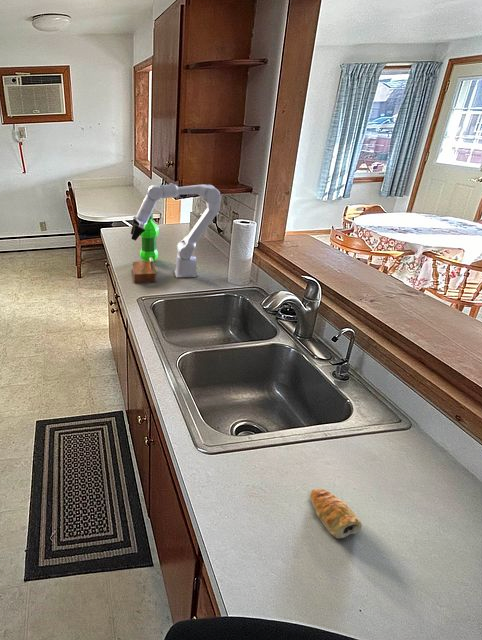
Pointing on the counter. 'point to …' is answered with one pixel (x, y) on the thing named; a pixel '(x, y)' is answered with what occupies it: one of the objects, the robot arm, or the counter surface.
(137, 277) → the brown wooden box
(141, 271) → the lid
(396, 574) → the counter surface
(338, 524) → the pastry
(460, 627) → the counter surface
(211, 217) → the robot arm
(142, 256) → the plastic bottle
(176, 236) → the counter surface
